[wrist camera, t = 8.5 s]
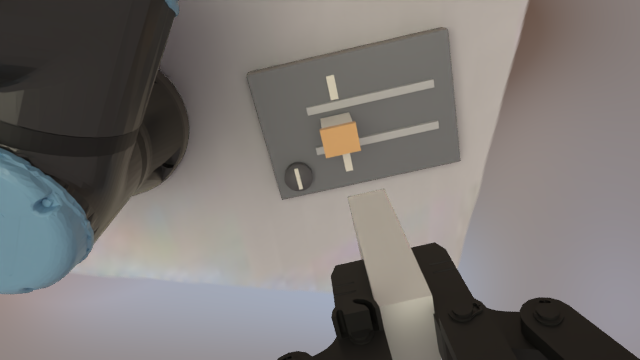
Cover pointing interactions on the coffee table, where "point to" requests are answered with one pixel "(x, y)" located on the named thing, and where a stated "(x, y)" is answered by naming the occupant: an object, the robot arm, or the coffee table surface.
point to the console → (360, 112)
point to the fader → (339, 135)
